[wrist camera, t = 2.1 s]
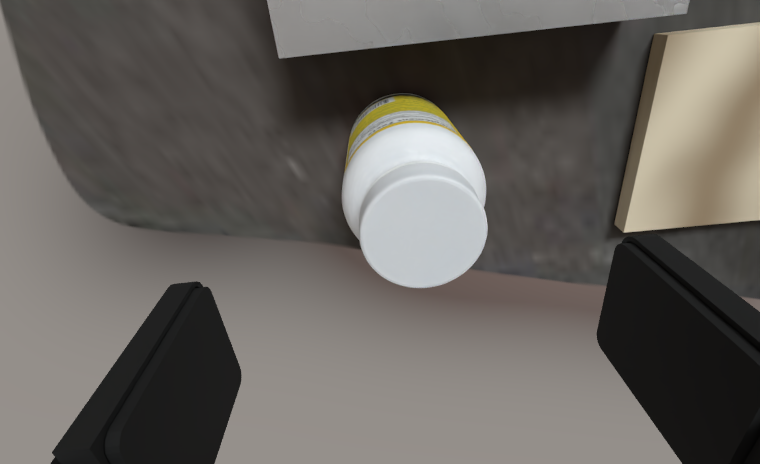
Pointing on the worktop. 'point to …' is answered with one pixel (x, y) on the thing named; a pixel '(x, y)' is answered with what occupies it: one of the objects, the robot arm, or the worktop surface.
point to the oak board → (696, 132)
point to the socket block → (436, 20)
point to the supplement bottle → (413, 192)
